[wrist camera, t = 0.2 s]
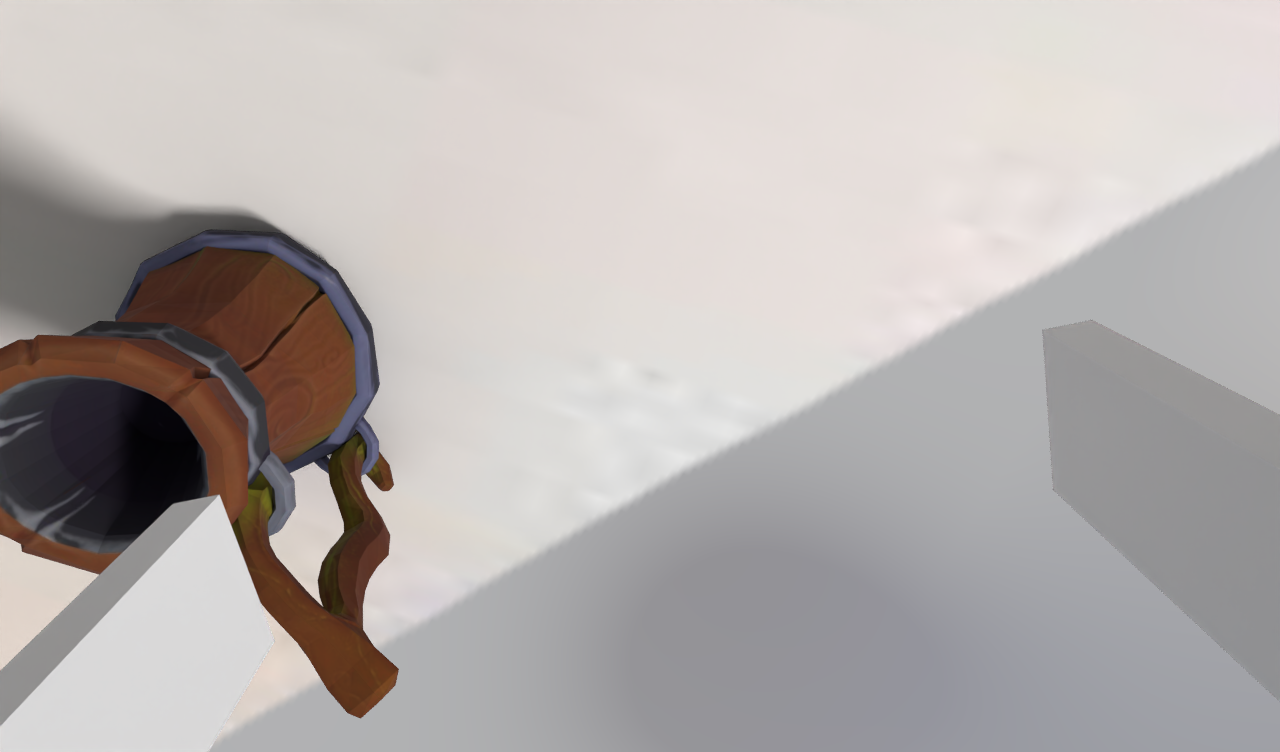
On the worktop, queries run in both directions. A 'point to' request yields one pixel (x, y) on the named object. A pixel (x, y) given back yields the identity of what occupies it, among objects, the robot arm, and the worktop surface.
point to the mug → (210, 430)
